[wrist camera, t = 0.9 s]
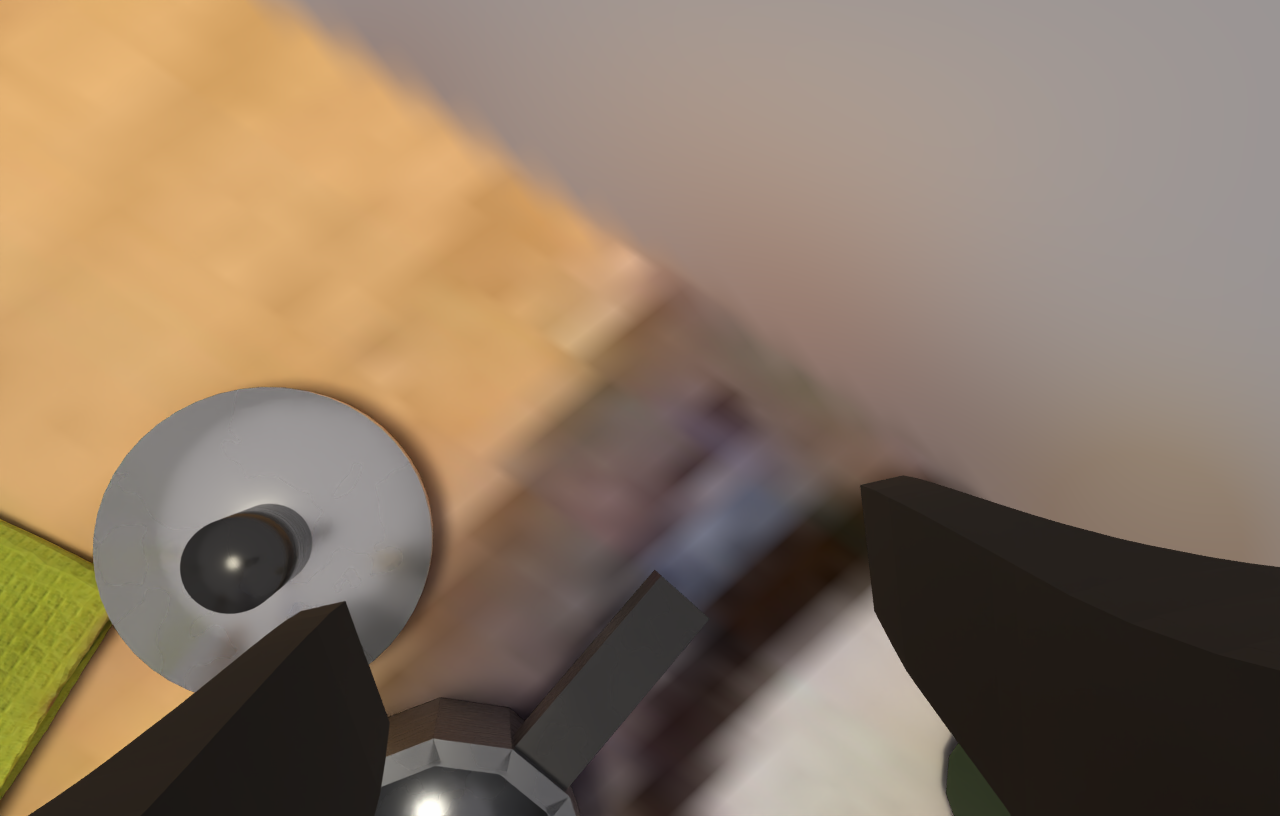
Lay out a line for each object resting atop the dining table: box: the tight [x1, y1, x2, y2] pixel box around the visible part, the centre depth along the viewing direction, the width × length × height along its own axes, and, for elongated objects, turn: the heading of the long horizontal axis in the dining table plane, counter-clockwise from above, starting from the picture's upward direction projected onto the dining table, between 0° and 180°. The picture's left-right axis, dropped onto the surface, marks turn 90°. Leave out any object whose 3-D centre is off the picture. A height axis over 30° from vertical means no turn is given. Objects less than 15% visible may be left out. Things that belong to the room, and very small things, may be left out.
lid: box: [93, 387, 433, 692], centre depth 24 cm, size 10×10×5 cm
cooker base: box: [375, 570, 709, 816], centre depth 26 cm, size 18×9×4 cm, turn 138°
